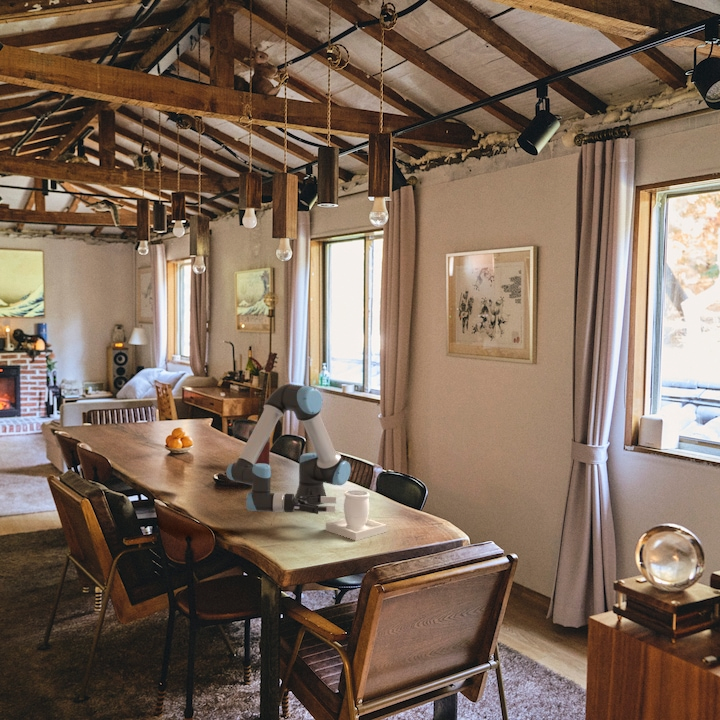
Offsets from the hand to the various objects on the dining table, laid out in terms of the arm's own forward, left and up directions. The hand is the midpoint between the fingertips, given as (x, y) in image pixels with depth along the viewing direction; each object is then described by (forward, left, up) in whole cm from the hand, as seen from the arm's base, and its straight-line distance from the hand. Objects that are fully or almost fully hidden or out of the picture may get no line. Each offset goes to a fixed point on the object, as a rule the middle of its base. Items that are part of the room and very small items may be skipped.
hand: (335, 504), depth 291 cm
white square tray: (-6, +6, -11) cm, 14 cm away
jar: (-6, +6, -10) cm, 13 cm away
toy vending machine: (-39, -109, -11) cm, 116 cm away
